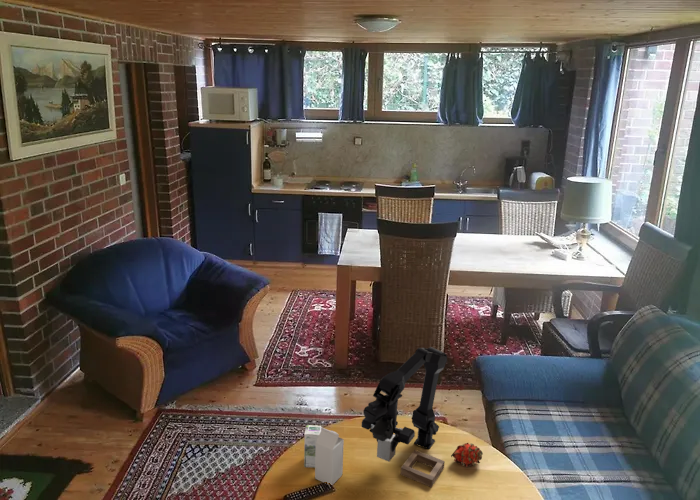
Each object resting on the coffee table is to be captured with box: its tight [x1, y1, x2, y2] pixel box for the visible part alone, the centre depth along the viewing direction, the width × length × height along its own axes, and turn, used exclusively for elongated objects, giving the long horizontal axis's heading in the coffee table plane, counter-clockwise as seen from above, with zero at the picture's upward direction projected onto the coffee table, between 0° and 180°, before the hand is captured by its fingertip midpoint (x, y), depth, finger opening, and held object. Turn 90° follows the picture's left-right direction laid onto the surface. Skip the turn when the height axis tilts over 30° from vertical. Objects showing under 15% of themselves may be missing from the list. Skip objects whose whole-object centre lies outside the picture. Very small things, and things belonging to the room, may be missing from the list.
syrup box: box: [303, 424, 322, 469], centre depth 201 cm, size 6×6×14 cm
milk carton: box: [314, 427, 345, 486], centre depth 193 cm, size 7×7×19 cm
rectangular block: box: [376, 433, 397, 462], centre depth 198 cm, size 5×5×8 cm
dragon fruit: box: [450, 442, 484, 468], centre depth 205 cm, size 8×8×12 cm
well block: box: [400, 449, 446, 488], centre depth 200 cm, size 12×12×3 cm
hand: (386, 448), depth 199 cm, fingers closed on rectangular block, 5 cm apart
